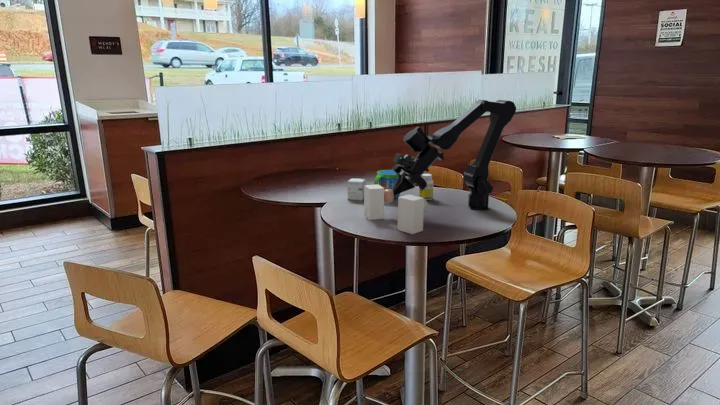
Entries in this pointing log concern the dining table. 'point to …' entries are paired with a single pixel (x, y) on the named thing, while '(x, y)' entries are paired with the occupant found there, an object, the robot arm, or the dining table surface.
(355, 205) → the dining table surface
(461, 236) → the dining table surface
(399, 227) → the sage button housing
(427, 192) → the supplement bottle
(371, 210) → the white tall block
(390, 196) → the terracotta button
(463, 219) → the dining table surface
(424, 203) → the sage button
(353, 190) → the skincare box
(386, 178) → the snack cup
